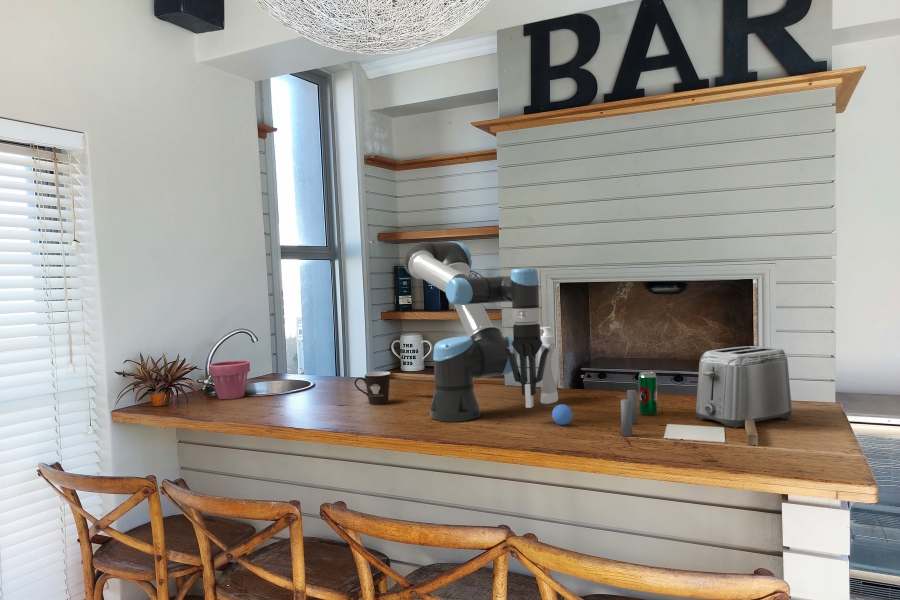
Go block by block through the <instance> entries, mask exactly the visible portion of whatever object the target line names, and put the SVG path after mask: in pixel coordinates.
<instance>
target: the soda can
mask: <svg viewBox="0 0 900 600" xmlns="http://www.w3.org/2000/svg"><path fill="white" fill-rule="evenodd" d="M637 378H638V408H639V409H638V412H639V413H640V414H641V415H644V416H655V415H656V414H658V385H657V383H658V380H657V378H658V376H657V375H656V372H655V371H640V372H639V375H638V377H637Z"/></svg>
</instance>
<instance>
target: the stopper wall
mask: <svg viewBox="0 0 900 600" xmlns="http://www.w3.org/2000/svg"><path fill="white" fill-rule="evenodd" d="M755 423H756V422H755ZM755 423H754V419H745V426H744V430H746V431H745V435H747V436H746V440H747V445H748V446H750V445H756V446H755V447H758V446H759V435H758V431H757V427H756V424H755Z"/></svg>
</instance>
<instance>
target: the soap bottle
mask: <svg viewBox="0 0 900 600" xmlns="http://www.w3.org/2000/svg"><path fill="white" fill-rule="evenodd" d="M551 328H552V327H551V326H540V330H542V331H543V332H544V333H542V335H540V339H541V341H542V345H544V346H546V347H547V348H548V347H549V348H550V352H549V353H548V355H547V359H546V364H545V369H544V374H543V379H542V380H541V381H540V382H539V383H540V389H541V391H540V403H541V404H542V405H551V404H554V403H557V402H558V401H559V395H558V394H559V393H558V389H557V387H558V386H557V385H558V379H559V353H558V349H557V346H556V344H555V343H556V342H555V335H553V332H552V331H551ZM541 354H542V353H541V348H540V349H539V351H538V352H537V366H538V367H539V362H540V357H541Z"/></svg>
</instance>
